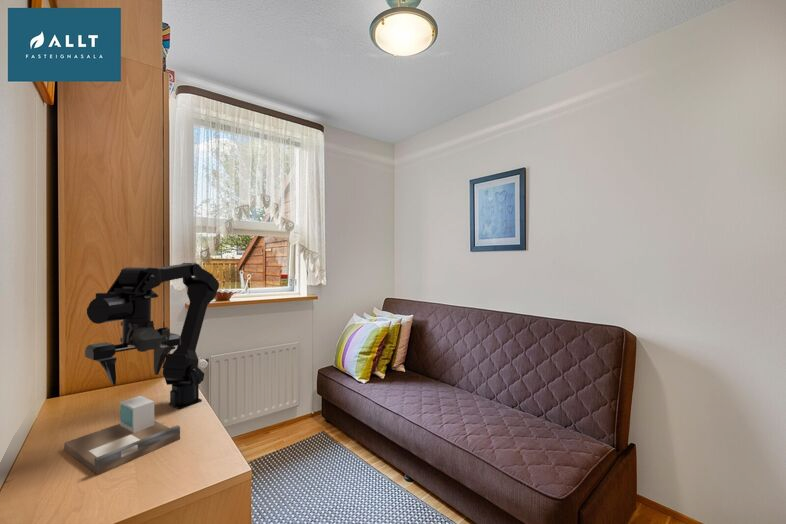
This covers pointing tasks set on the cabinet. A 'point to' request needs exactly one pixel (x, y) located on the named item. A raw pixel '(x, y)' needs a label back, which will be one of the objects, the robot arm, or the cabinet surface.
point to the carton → (137, 413)
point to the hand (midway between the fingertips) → (136, 379)
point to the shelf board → (119, 445)
